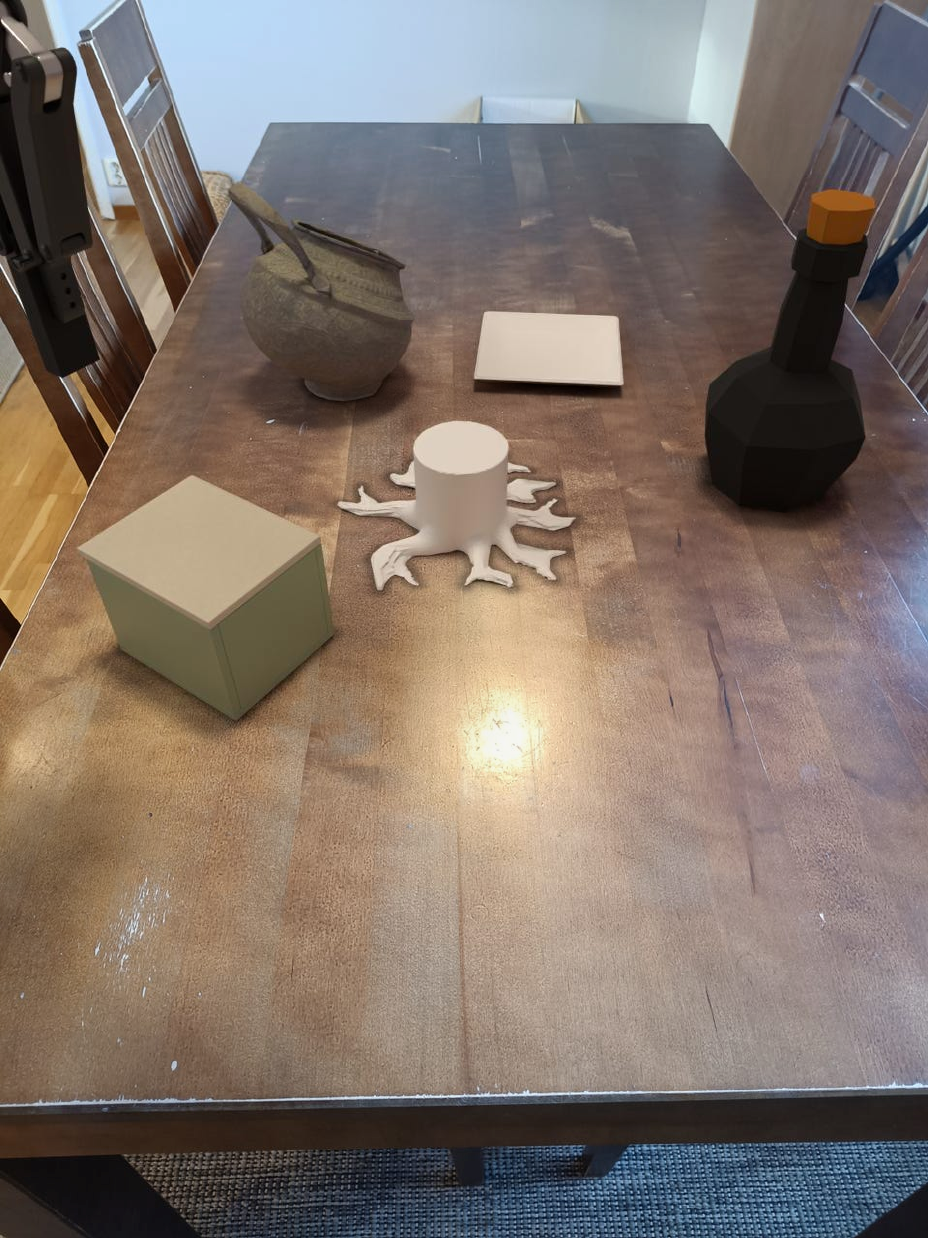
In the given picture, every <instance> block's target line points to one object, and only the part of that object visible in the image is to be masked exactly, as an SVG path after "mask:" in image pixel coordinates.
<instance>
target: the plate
mask: <svg viewBox="0 0 928 1238" xmlns="http://www.w3.org/2000/svg"><path fill="white" fill-rule="evenodd" d="M619 320H620V319H619V317H618V316H615V315H599V314H595V315H594V314H573V313H572V314H571V313H570V314H569V313H541V312H517V311H492V310H491V311H490V310H489V311H488V310H487V311H485V312H483V316H482V323H481V329H480V334H479V342H478V348H477V354H476V360H475V367H474V373H473V379H474V380H475V381H477V382H486V383H487V382H489V383H490V382H491V383H492V382H493V383H511V384H513V383H514V384H533V385H534V384H536V385H557V386H558V385H560V386H581V387H583V386H585V387H605V388H606V387H607V388H620V387H622V386H623V385H624V383H625V382H624V372H623V371H624V370H623V361H622V360H623V359H622V348H621V347H622V346H621V345H622V344H621V334H620V321H619Z"/></svg>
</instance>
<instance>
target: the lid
mask: <svg viewBox="0 0 928 1238" xmlns="http://www.w3.org/2000/svg"><path fill="white" fill-rule="evenodd" d="M320 543H321V544H322V540H321V536H320V535H319V534H317V533H315V532H313V531H311V530H309V529H307V528H304V527H303V526H300V525H298V524H296V523H294V522H292V521H290V520H288V519H286V518H283V517H281V516H279V515H277V514H275V513H273V512H271V511H269V510H267V509H264V508H263V507H261V506H258V505H256V504H255V503H252V502H251V501H248V500H247V499H244V498H242V497H239V496H237V495H236V494H234V493H231V492H229V491H227V490H225V489H223V488H220V487H219V486H216V485H214V484H212V483H210V482H208V481H206V480H204V479H202V478H199V477H198V476H196V475H193V474H191V475H189V476H188V477H186V478H184V479H183V480H181V481H180V482H178V483H177V484H174V485H173V486H172V487H170V488H168V489H167V490H166V491H164V492H162V493H161V494H159V495H158V496H156V497H155V498H153V499H151V500H150V501H148V502H146V503H145V504H143V505H141V506H140V507H139V508H137V509H136V510H134V511H133V512H131V513H129V514H128V515H126V516H125V517H123V518H122V519H120V520H118V521H117V522H115V523H114V524H112V525H111V526H109V527H108V528H106V529H104V530H103V531H101V532H100V533H98V534H96V535H95V536H93V537H92V538H90V539H89V540H88V541H86V542H83V544H81V545H79V546H78V547H77V548H76V550H77V552H78V555H79V556H80V557H82V558H84V559H87V560H89V561H91V562H93V563H94V564H96V565H98V566H100V567H101V568H103V569H105V570H107V571H108V572H110V573H112V574H114V575H115V576H117V577H119V578H121V579H122V580H124V581H126V582H128V583H129V584H131V585H133V586H135V587H136V588H138V589H140V590H142V591H143V592H145V593H147V594H149V595H150V596H152V597H154V598H156V599H157V600H159V601H161V602H163V603H164V604H166V605H168V606H170V607H171V608H173V609H175V610H177V611H178V612H180V613H182V614H184V615H185V616H187V617H189V618H191V619H192V620H194V621H196V622H198V623H199V624H201V625H203V626H204V627H206V628H208V629H212V628H213V627H215V626H216V625H217V624H218V623H220V622H221V621H222V620H223V619H225V618H226V617H227V616H229V615H230V614H231V613H232V612H234V611H235V610H236V609H237V608H239V607H240V606H241V605H243V604H244V603H245V602H246V601H248V600H249V599H250V598H251V597H253V596H254V595H255V594H257V593H258V592H259V591H260V590H262V589H263V588H264V587H265V586H267V585H268V584H269V583H271V582H272V581H273V580H274V579H276V578H277V577H278V576H280V575H281V574H282V573H283V572H285V571H286V570H287V569H288V568H290V567H291V566H292V565H294V564H295V563H296V562H297V561H299V560H300V559H301V558H302V557H304V556H305V555H306V554H308V553H309V552H310V551H311V550H313V549H314V548H315V547H316V546H318V545H319V544H320ZM87 560H86V561H87Z"/></svg>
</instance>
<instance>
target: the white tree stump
mask: <svg viewBox="0 0 928 1238" xmlns="http://www.w3.org/2000/svg"><path fill="white" fill-rule="evenodd" d="M412 448H413V451H412V452H413V460H412V461H411V462H410V464H409V466H408V470H407V471H406V473H404V474H398V473H394V472H393V473H391V474H390V475H389V480H390V481H391V482H393V483H394V484H395V485H397V486H402V487H408V488H413V489H414V491H415V492H414V493H415V499H413V500H411V499H410V500H390V501H383V502H378V501H377V500H376V499H374V498H373V497H370V496H369V495H368V494H366V492H364V491H365V489H364V486H363V485H360V488H357V491H358V495H359V496H360V501H359V502H358V503H356V502H350V501H337V507H338V508H340V509H342V510H345V511H348V512H350V513H353V514H355V515H357V516H366V517H367V516H368V517H383V518H384V517H385V518H386V517H389V518H390V517H391V518H396V519H398V520H399V519H400V520H401V521H402V522H404V523H405V524H407V525H408V526H410V527H412V528H414V529H415V530H417V531H418V532H417V533H416V534H415V535H412V536H409V537H406V538H403V539H398V540H396V541H392V542H389V543H387V544H383V545H381V546H380V547H379V548H378V549H377V550H375V551H374V552H373V553H372V555H371V557H370V561H371V566H372V573H373V579H374V582H375V588H376V590H377V591H383V590H384V587H385V584H386V582H387V581H388V580H389V579H390V578H391V577H394V576H395V575H396V576H398V577H401V578H402V577H403V578H404V579H405V580H406V581H407V582H408V583H409V584H412V585H414V586H416V587H417V586H420V584H419V583H420V582H418V581H416V580H415V577H412V576H413V574H412V573H411V571H410V570H409V569H408V566H407V562H408V561H409V560H410V559H411V558H412V557H414V556H432V555H438V554H443V553H445V554H446V553H450V552H455V551H461V552H463V553H464V554H466V555H467V556H468V559H469V562H470V564H471V565H472V567H471V572H470V574H469V575H468V576H467V578H466V581H465V583H464V586H468V585H469V584H471V583H472V582H473V581H475V580H484V581H491V582H493V583H498V584H500V585H504V586H505V587H507V588H508V589H510V588H514V585H513V584H514V581H513V579H512V576H511V574H510V573H506V572H503V571H500V570H497V569H492V567H490V565H489V559H490V554H491V550H492V546H497V547H498V548H499V549H500V550H501V551H502V552H503V553H504V554H505V555H506V556H507V557H509V559H510V560H512V562H514V564H518V563H520V564H522V565H523V566H528V567H529V568H534V569H535V570H536V573H537V574H539V575H541V576H542V577H543V578H545V577H546V578H547V580H548V581H556V580H557V577H556V575H555V574H554V573H553V572H552V571H551V561H552V559H553V558H554V557H559V556H561V555H565V554H567V551H566V550H559V549H548V550H547V549H543V548H539V547H535V546H530V545H526V544H522V543H519V542H516V541H515V538H514V536H513V533H512V532H511V529H512V528H513V527H515V525H520V526H521V525H522V526H527V527H532V528H538V529H540V528H541V529H543V530H548V531H556V530H557V531H558V530H560V529H564V528H567V527H570V526H571V524H573V522H574V521H575V520H576V519H577V517H575V516H574V517H572V516H571V517H566V516H565V517H564V516H559V515H555V514H552V512H551V509H550V508H552V506H553V505H554V504H555V503H556V502H557V501H558V499H556V498H552V500H551V501H550V500H549V501H548V502H547V503H546V504H545V505H542V506H540V508H539V509H537V510H531V509H524V508H520V507H514V506H510V505H507V503H508V502H507V501H508V500H509V501H514V502H519V503H524V504H534V503H537V499H535V497H534V495H533V493H535V492H538V491H539V492H540V491H547V490H549V489H550V488H553V487H554V486H556V485H557V482H555V481H551V482H550V481H542V480H533V479H530V480H529V479H527V478H526V479H525V478H516V479H515V480H513V481H511V482H509V483H508V473H509V474H510V473H512V472H517V473H523V472H524V473H532V471H531V470H530V468H528V467H527V466H525V465H519V464H514V463H511V462H509V442H508V440H507V439H506V438H505V436H504V435H503V433H501V432H500V431H499V430H496V429H495V428H494V427H491V426H490V425H487V424H483V423H479V422H478V421H475V422H473V421H470V420H469V421H468V420H467V421H464V420H452V421H448V422H441V423H439V424H434V425H433V426H432V427H429V428H426V429H425V430H423V431H421V433H420V434H418V436H417V437H416V439H415V440H414V442H413V446H412Z"/></svg>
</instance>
